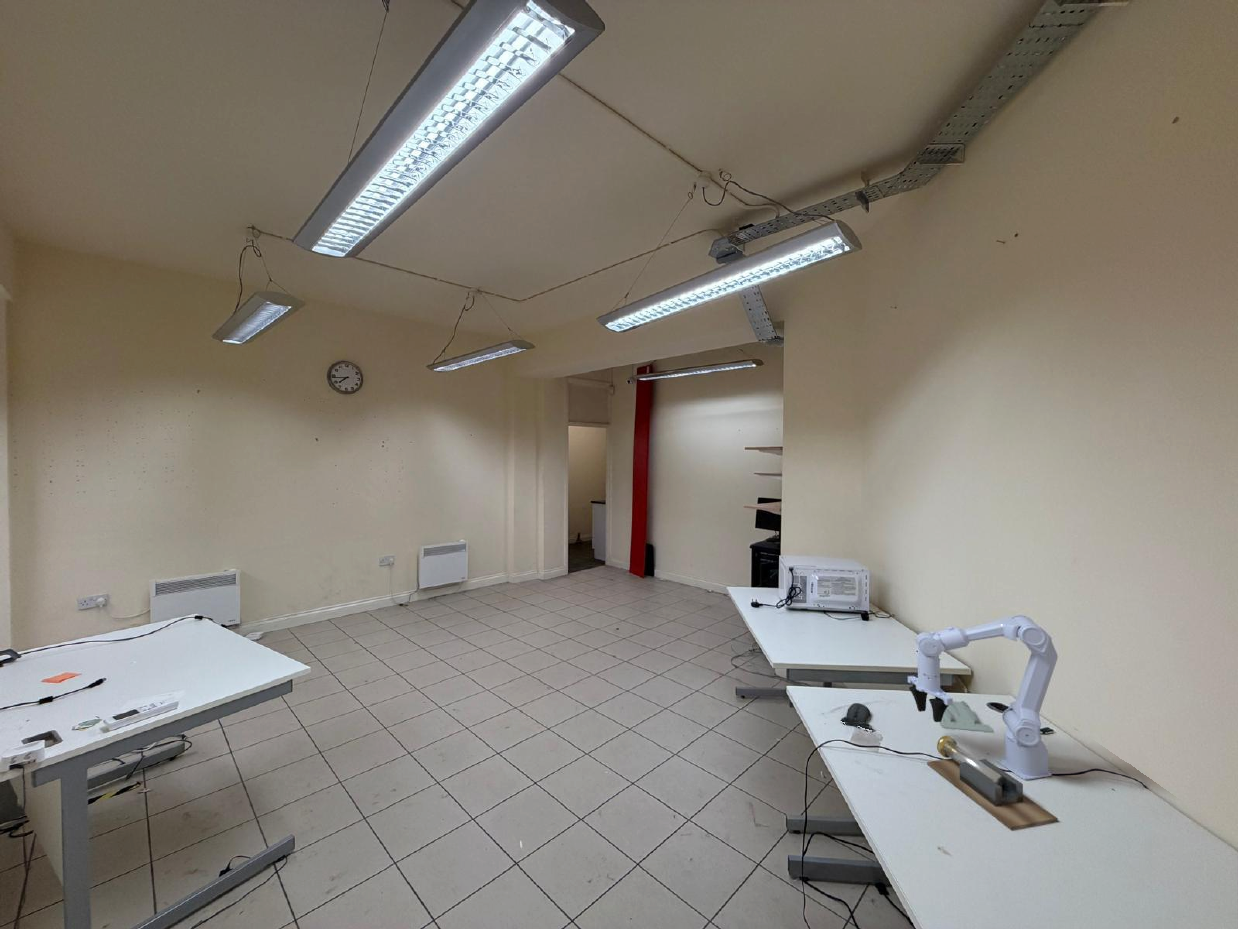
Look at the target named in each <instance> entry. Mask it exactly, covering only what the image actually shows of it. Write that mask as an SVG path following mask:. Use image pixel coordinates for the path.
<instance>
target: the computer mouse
mask: <svg viewBox="0 0 1238 929" xmlns="http://www.w3.org/2000/svg"><path fill="white" fill-rule="evenodd" d="M870 717H871V710H870V708H868V707H867V706H866V705H865V704H863V703H858V702H854V703H852V704H851V705H850V706H849V707H848V709H847V711H846V715H845V716H843V717H841V719H840V721H842V722H843V721H844V722H846V723H845V724H847V725H846V726H852V725H855V726H860V727H862V728H865V729H869V730H873V731H874V725H872V724H870V723H867V722H868V720H869V719H870ZM845 724H844V725H845ZM855 726H854V727H855Z"/></svg>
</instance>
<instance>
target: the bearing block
mask: <svg viewBox="0 0 1238 929" xmlns="http://www.w3.org/2000/svg"><path fill="white" fill-rule="evenodd" d="M978 760H979V761H981V762H982V763H984V764H985V765H987V766H988V767H990V768H991V769H993V770H994V771H995V772H997V773H998V774H1000V775H1001V776H1002V777H1003V779H1004V783H1003V786H1002V787H1000V786H999V785H997V784H996V783H995V782H993V781H992V780H990V779H989V778H988V777H986V776H985V775H983V774H982V773H980V772H979V771H978V770H976V769H975V768H973V767H972V766H971V765H969V764H968V763H966V762H962V763H959V766H960V780H961V781H962V782H964V783H965V784H966V785H968V786H969V787H970V788H972V789H973V790H974V791H976V792H977V793H978V794H980V795H981V796H982V797H983V798H985V799H986V800H987V801H989V802H990V803H991V804H993V805H994V806H995V807H996V806H1002V805H1008V804H1013V803H1019V802H1023V795H1024V784H1023V783H1022V782H1020V781H1019V780H1018V779H1016V778H1015V777H1013V776H1012V775H1010V774H1008V773H1007V772H1006V771H1004V770H1003V769H1001V768H999V766H997V765H995V764H994V763H993V762H991V761H989V760H987V759H986V758H984V759H983V758H982V759H978Z"/></svg>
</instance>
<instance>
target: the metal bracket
mask: <svg viewBox="0 0 1238 929" xmlns="http://www.w3.org/2000/svg"><path fill="white" fill-rule="evenodd" d="M939 724H940V726H941V727H942V729H945V730H953V731H955V730H959V731H960V730H961V731H972V732H982V733H986V734H987V733H988V734H994V730H993V728H992V727H991V726H990V725H989V724H986V723H985V724H984V723H982V722H981V721H980V719H979V718H978V717H977V715H976V713H975V712H973V710H972V709H971V707H970V706H969V704H968V703H967V702H965V701H964V700H961V701H953V705H949V706H948V707H947V709H946V710H945V712H944V715H943V718H942V721H941V722H939Z"/></svg>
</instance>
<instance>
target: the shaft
mask: <svg viewBox="0 0 1238 929" xmlns="http://www.w3.org/2000/svg"><path fill="white" fill-rule="evenodd" d="M936 749H937V750H936V751H937V752H938V754H939V755H941V756H942V757H944V758H945V759H950V758H952V759H953V760H955V761H956V762H958V763H962V762H966V763H968V764H969V765H971V766H972V767H973V768H975V769H976V770H978V771H979V772H980V773H982V774H983V775H985V776H986V777H988V778H989V779H990V780H992V781H993V782H995V783H996V784H997V785H999V786H1000V787H1002V786H1003V783H1004V779H1003V777H1002V776H1001V775H1000V774H998V773H997V772H995V771H994V770H993V769H991V768H990V767H988V766H987V765H985V764H984V763H982V762H981V761H979V760H980V759H979V758H976V757H975V756H974V755H972V754H971V753H969V752H967V751H966V750H964V749H963V748H962V747H960V746H959V745H958V744H957V740H955V739H954V738H953V737H951V736H950V735H943V736H941V737H940V738H939V740H938V741H937V745H936Z"/></svg>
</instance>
